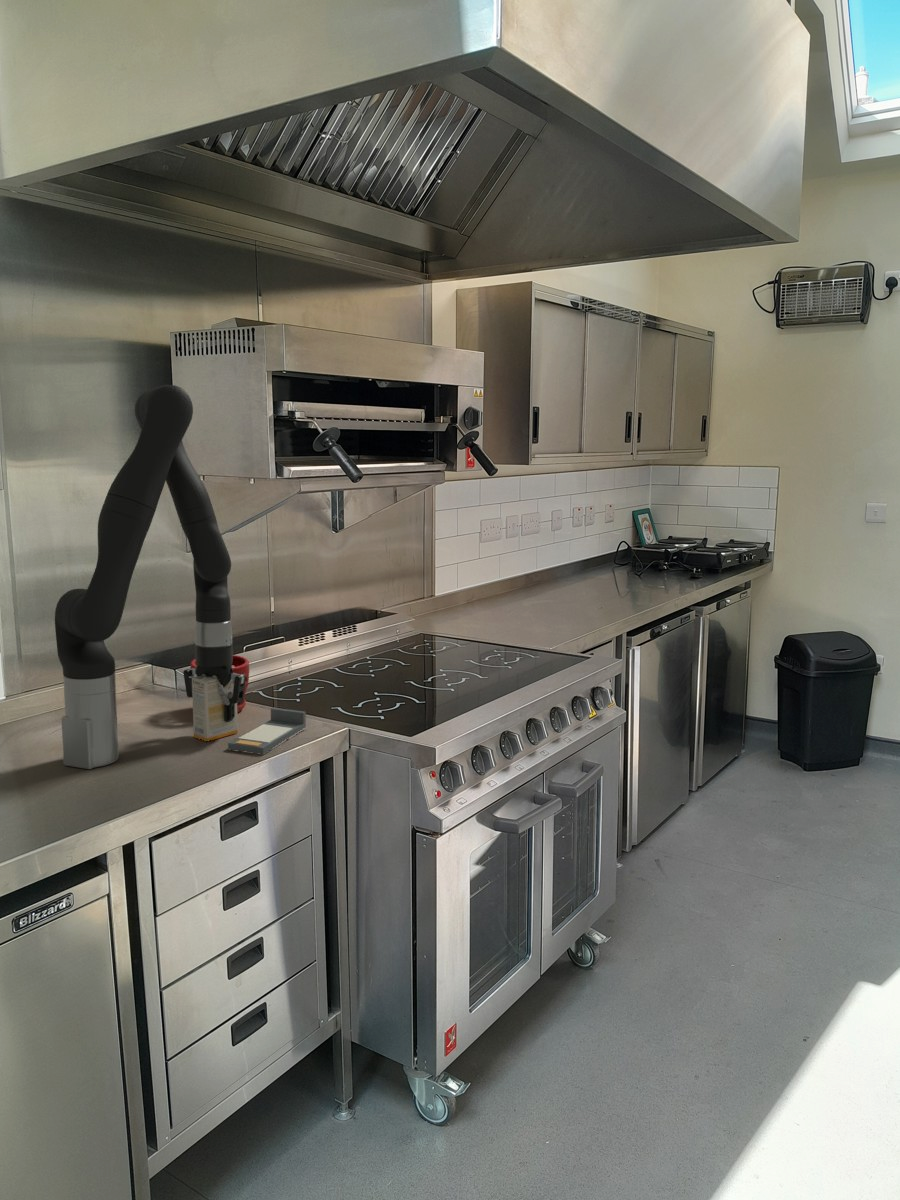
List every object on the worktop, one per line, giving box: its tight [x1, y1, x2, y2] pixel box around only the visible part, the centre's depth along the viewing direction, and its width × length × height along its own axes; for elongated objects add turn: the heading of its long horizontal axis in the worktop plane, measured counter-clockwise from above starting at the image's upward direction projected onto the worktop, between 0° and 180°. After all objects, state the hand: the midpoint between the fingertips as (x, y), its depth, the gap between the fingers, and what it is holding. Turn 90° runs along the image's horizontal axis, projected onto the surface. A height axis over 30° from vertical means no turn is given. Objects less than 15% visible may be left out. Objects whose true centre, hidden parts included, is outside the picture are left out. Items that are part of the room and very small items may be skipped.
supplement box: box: [192, 676, 239, 742], centre depth 189 cm, size 8×5×13 cm, turn 141°
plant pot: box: [190, 654, 250, 713], centre depth 207 cm, size 13×13×12 cm
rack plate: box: [227, 707, 307, 755], centre depth 188 cm, size 18×8×4 cm, turn 161°
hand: (215, 719), depth 189 cm, fingers closed on supplement box, 6 cm apart
